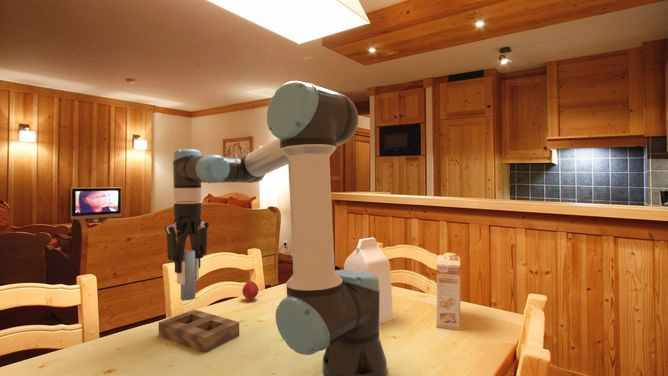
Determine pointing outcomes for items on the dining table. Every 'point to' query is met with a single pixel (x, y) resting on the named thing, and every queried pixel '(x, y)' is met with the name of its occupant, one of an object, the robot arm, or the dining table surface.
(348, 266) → the milk
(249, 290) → the onion
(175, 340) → the socket board
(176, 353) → the dining table surface
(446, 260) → the coffeecake box
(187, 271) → the peg
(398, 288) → the dining table surface
